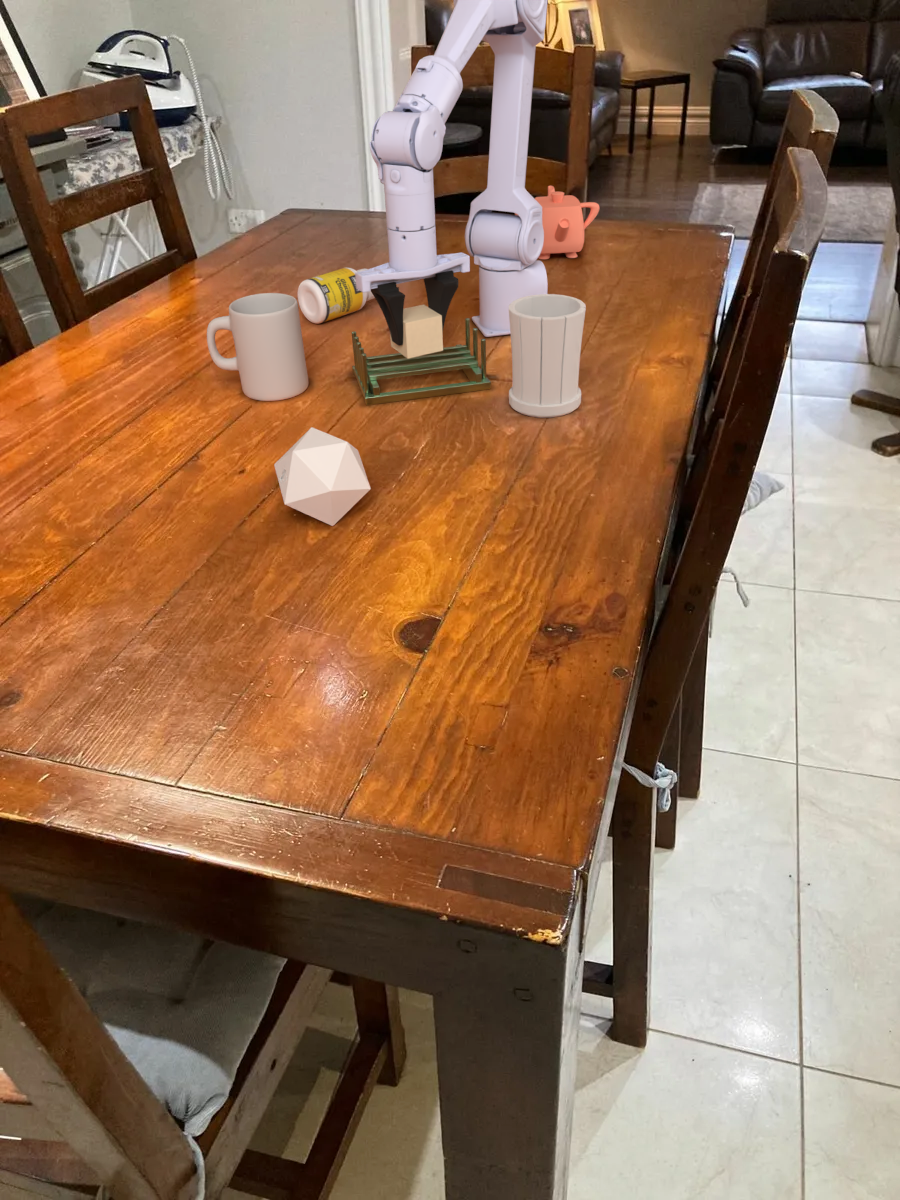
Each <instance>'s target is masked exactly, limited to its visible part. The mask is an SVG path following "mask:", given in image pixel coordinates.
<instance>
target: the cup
mask: <svg viewBox="0 0 900 1200" xmlns="http://www.w3.org/2000/svg"><path fill="white" fill-rule="evenodd" d="M586 311H587V307H586V303H585V302H583V301H582V300H581V299H579V298H576V297H573V296H569V295H565V294H556V293H547V294H539V295H530V296H526V297H522V298H519V299H517V300H515V301H513V302H512V303H511V304H510V305H509V320H510V332H511V334H510V346H511V369H512V370H511V373H512V375H511V378H512V379H511V380H512V386H511V387H510V389H509V390H508V405H509V406H510V407H511V408H512V409H513V410H514V411H516V412H517V413H519V414H521V415H524V416H527V417H533V418H541V419H542V418H543V419H544V418H547V419H548V418H549V419H550V418H557V417H562V416H565V415H569V414H571V413H573V412H574V411H575V410H577V409H578V408H579V407H580V405H581V403H582V389H581V388H580V387H579V377H580V365H581V364H580V363H581V352H582V342H583V335H584V325H585V319H586Z"/></svg>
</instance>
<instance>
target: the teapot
mask: <svg viewBox="0 0 900 1200" xmlns="http://www.w3.org/2000/svg"><path fill="white" fill-rule="evenodd" d="M534 199H535V200H536V201H537V202H538V203H539V204H540V205H541V206H542V224H543V229H544V243H543V248H542V251H541V253H540V255H539V257H538V258H537V259H538V260H548V259H550V258H551V254H565V257H566V258H568V259H575V258H578V253H579V252H581V251H582V249H583V247H584V244H585V230H586V229H587V228H588V227H589V226H590V224H591V223H592V222H593V221H594V220H595V218H597V216H598V215H599V212H600V204H599V203H597V202H594V201H586V202H581V201H580V200H579V198H577V197H576V196H575V195H570V194H566V195H565V192H563V191H556V190H555V187H554V186H553V185H548V186H547V196H536V197H534ZM584 208H585V209H586V208H587V209H590V210H589V211H590V212H589V214H588V215H587V217H586V219H585V221H584V214H583V209H584ZM514 215H518V214H516V213H514Z"/></svg>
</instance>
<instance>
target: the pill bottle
mask: <svg viewBox="0 0 900 1200" xmlns="http://www.w3.org/2000/svg"><path fill="white" fill-rule="evenodd" d="M367 269H368V268H361V269H360V268H359V269H357V270H356V269H354V268H352V267H343V268H339V269H335V270H333V271H329V272H326V273H322V274H319V275H316V276H312V277H310V278H307V279H304V280H302V281H301V282H300V284H299V286H298V288H297V303H298V307H299V308H300V311H301V313H302V315H303V316H304V317H305V319H307V320H308V321H309V322H310V323H312V324H319V325H320V324H323V323H326V322H329V321H331V320H332V321H333V320H334V319H337V318H340V317H344V316H346V315H349V314H352V313H355V312H359V311H360V310H361V309H363V307H364V306H365V304H366V302H369V301H371V300H374V299H375V297H374V295H373V294H372V292H371V291H369V292H364V293H363V292H361V291H360V290H358V289H357V288H356V277H355V272H360V271H364V270H367Z"/></svg>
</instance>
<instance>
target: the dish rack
mask: <svg viewBox="0 0 900 1200" xmlns="http://www.w3.org/2000/svg"><path fill="white" fill-rule="evenodd" d="M464 327H465V331H464V332H465V334H464V335H465V344H461V343H460V344H455V345H454V346H453V345H452V346H445V347H443V351H439V352H435V353H430V354H426V355H421V356H417V357H413V358H406V357H405V356H403V355H402V354H401V353H399V352H396V353H388V354H379V355H371V356H367V353H365V349H364V347H362V341H360V338H359V336H357V331H354V330H353V331H351V342H352V352H353V361H354V365H351V368H352V369H351V370H352V374H353V376H354V378H355V380H356V382H357V385H358V387H359V390H360V392H361V394H362V396H363V397H362V398H363V399H364V404H365V406H371V405H373V406H374V405H380V404H387V403H394V402H395V403H396V402H402V401H409V400H416V399H417V400H418V399H426V398H433V397H441V396H450V395H455V394H463V393H464V394H465V393H471V392H479V391H480V392H481V391H487V390H491V389H492V381H491V380H490V379H489V378H488V377H487V342H486V341H487V339H485V338H482V339H480V361H481V362H480V364H481V367H480V366H479V338H478V336H479V335H478V330H479V328H478V327H473V328H472V351H473V352H472V354H473V355H472V354H471V319H470V318H469V317H466V318H465V319H464ZM458 370H462V371H463V373H464V374H465V376H466V377H467V379H468V380H469V381H463V382H456V383H448V384H440V385H432V386H424V387H417V388H408V389H400V390H392V391H384V392H381V389H380V385H379V383H378V381H379V380H387V379H395V378H403V377H404V378H405V377H411V376H418V375H427V374H434V373H442V372H443V373H444V372H450V371H451V372H452V371H458Z"/></svg>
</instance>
